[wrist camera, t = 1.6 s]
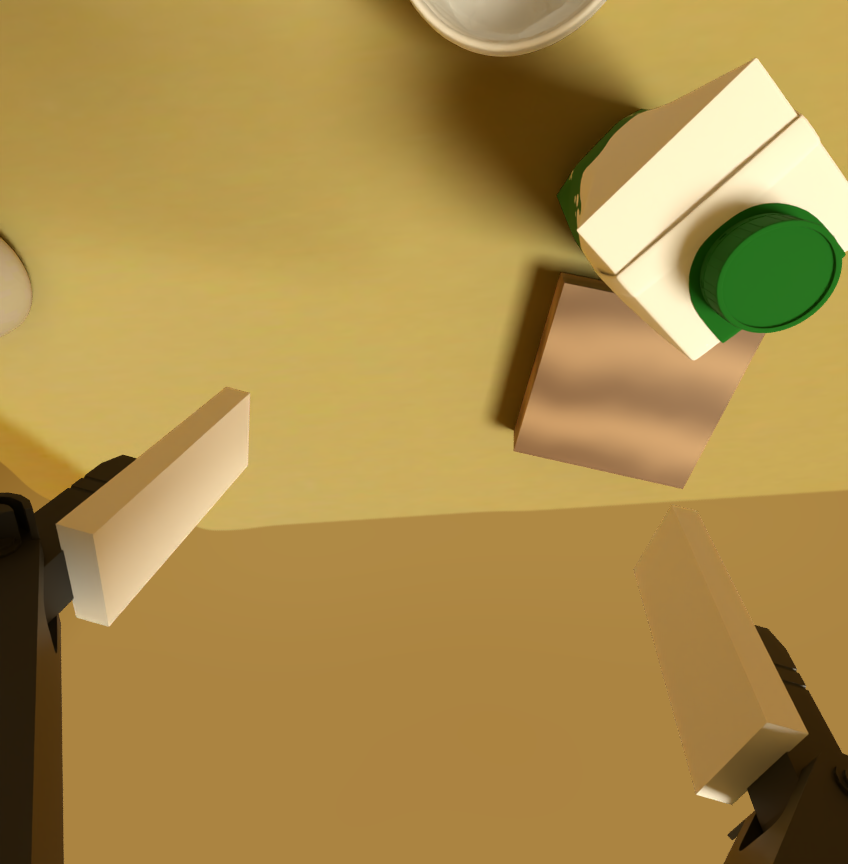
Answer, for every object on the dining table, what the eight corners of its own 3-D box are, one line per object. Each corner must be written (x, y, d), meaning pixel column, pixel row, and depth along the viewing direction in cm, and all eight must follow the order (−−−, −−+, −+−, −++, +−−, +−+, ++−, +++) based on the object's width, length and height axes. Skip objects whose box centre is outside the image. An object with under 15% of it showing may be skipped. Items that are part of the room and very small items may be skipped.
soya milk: (618, 285, 38) (704, 400, 20) (536, 194, 36) (555, 236, 18) (728, 191, 34) (950, 234, 17) (643, 82, 32) (795, 1, 14)
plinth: (560, 271, 38) (564, 282, 35) (746, 308, 38) (769, 324, 34) (513, 428, 45) (513, 451, 42) (669, 462, 45) (682, 488, 41)
